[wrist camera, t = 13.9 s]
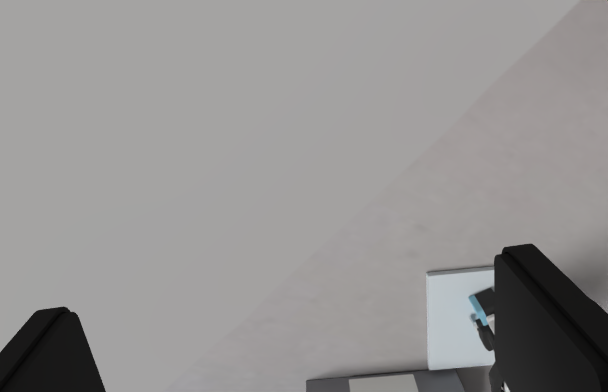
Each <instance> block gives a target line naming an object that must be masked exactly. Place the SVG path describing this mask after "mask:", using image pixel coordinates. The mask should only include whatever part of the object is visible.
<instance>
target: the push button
mask: <svg viewBox="0 0 608 392" xmlns="http://www.w3.org/2000/svg"><path fill="white" fill-rule="evenodd" d="M468 298H469V301H470V303H471V304H472V306H473V309H474V311H475V313H476V315H477V318H478V319H477V320H475V322H476V325H474V323H473V321H472V320H471V318H470V317H469V318H470V320H471V323H472V325H473V327H474V328H475V330H476V332H477V334H478V335H479V337H480V339H481V341H482V343H483V345H484V347H485V348H486V349H487V350H488V351H492V350H493V351H494V291H493V290H492V288H489V289H487V290H484V291H482V292H480V293H477V294H475V295H472V296H470V297H468ZM489 379H490V384H491V391H492V392H510V390H509V389H508V387H507V385H506V383H505V382H504V380H503V378H502V376H501V375H500V373H499V371H498V368H497V366H496V362H494V364H493V366H492V368H491V370H490V372H489ZM501 386H502V387H503V389H504V391H503V390H502V389H501Z"/></svg>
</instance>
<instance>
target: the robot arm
mask: <svg viewBox="0 0 608 392" xmlns="http://www.w3.org/2000/svg"><path fill="white" fill-rule="evenodd" d="M494 355H495V362H496V366H497V368H498V371H499V373H500V375H501V376H502V378H503V380H504V382H505V383H506V385H507V387H508V389H509V390H510V392H608V314H607V313H606V312H605V311H604V310H603V309H602V308H601V307H600V306H599V305H598V304H597V303H596V302H594V301H593V300H591V299H589V298H588V297H587V296H586V295H585V294H584V293H583V292H582V291H581V290H580V289H579V288H578V287H577V286H576V285H575V284H574V283H573V282H572V281H571V280H570V279H569V278H568V277H567V276H566V275H564V274H563V273H562V272H561V271H560V270H559V269H558V268H557V267H556V266H555V265H554V264H553V263H552V262H551V261H550V260H549V259H548V258H547V257H546V256H545V255H544V254H543V253H542V252H541V251H540V250H539V249H538V248H537V247H535V246H534V245H533V244H524V245H517V246H509V247H504V248H503V250H502V254H500V255H496V256H495V259H494ZM0 392H106V391H105V388H104V386H103V383H102V380H101V377H100V375H99V372H98V369H97V366H96V364H95V361H94V358H93V355H92V353H91V350H90V347H89V344H88V342H87V339H86V336H85V334H84V331H83V328H82V325H81V322H80V320H79V317H78V315H77V314H76V313H74V312H70V310H68V308H66V307H58V308H50V309H43V310H38V311H36V312H35V313H34V314H33V315H32V316H31V317H30V318H29V320H28V321H27V322H26V323H25V324H24V325H23V327H22V328H21V329H20V330H19V331H18V332H17V334H16V335H15V336H14V337H13V338H12V340H11V341H10V342H9V343H8V344H7V345H6V346H5V347H4V349H3V350H2V351H1V352H0Z"/></svg>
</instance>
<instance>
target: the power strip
mask: <svg viewBox="0 0 608 392" xmlns="http://www.w3.org/2000/svg"><path fill="white" fill-rule="evenodd" d="M306 392H465V391H464V389H463V386H462V384H461V382H460V379H459V377H458V375H457V372H456V370H455V368H451V369H440V370H425V371H413V372H401V373H390V374H378V375H367V376H355V377H343V378H332V379H320V380H308V381H306Z"/></svg>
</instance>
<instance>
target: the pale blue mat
mask: <svg viewBox="0 0 608 392" xmlns="http://www.w3.org/2000/svg"><path fill="white" fill-rule="evenodd" d="M489 288H492V290H493V291H494V266H492V267H482V268H471V269H460V270H449V271H439V272H428V273H426V291H427V348H428V368H429V370H440V369H451V368H463V367H474V366H486V365H493V364H494V362H495V355H494V351H493V350H492V351H488V350H487V349H486V348H485V347H484V345H483V343H482V341H481V339H480V337H479V335H478V334H477V332H476V330H475V328H474V327H473V325H472V323H471V320H472V321H473V323H474V325H476V322H475V320H477V319H478V318H477V315H476V313H475V311H474V309H473V306H472V304H471V303H470V301H469V298H468V297H470V296H472V295H475V294H477V293H480V292H482V291H484V290H487V289H489ZM469 317H470V318H471V320H470V318H469Z"/></svg>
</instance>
